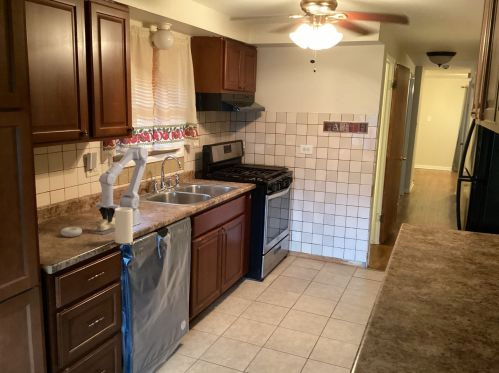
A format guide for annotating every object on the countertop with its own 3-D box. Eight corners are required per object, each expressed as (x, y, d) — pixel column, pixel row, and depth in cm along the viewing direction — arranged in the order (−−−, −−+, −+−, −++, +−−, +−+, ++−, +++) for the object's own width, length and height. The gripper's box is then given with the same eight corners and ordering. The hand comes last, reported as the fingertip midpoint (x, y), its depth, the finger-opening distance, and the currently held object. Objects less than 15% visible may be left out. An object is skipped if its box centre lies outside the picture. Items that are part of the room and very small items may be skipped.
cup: (126, 238, 223) (125, 206, 221) (136, 241, 218) (136, 209, 216) (111, 241, 217) (111, 208, 215) (121, 244, 212) (121, 211, 210)
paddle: (114, 225, 244) (114, 216, 243) (118, 226, 243) (118, 217, 243) (96, 230, 231) (96, 220, 231) (100, 230, 230) (100, 221, 230)
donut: (86, 227, 228) (73, 232, 218) (86, 233, 229) (73, 238, 219) (69, 225, 231) (56, 229, 221) (69, 231, 231) (56, 236, 222)
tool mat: (112, 225, 247) (112, 224, 247) (125, 227, 244) (125, 226, 244) (89, 232, 231) (89, 231, 231) (103, 235, 227) (103, 234, 227)
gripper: (91, 195, 233) (91, 221, 235) (113, 198, 228) (113, 224, 230) (100, 194, 240) (100, 218, 242) (122, 196, 234) (122, 222, 237)
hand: (107, 221), depth 236 cm, fingers closed on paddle, 2 cm apart
